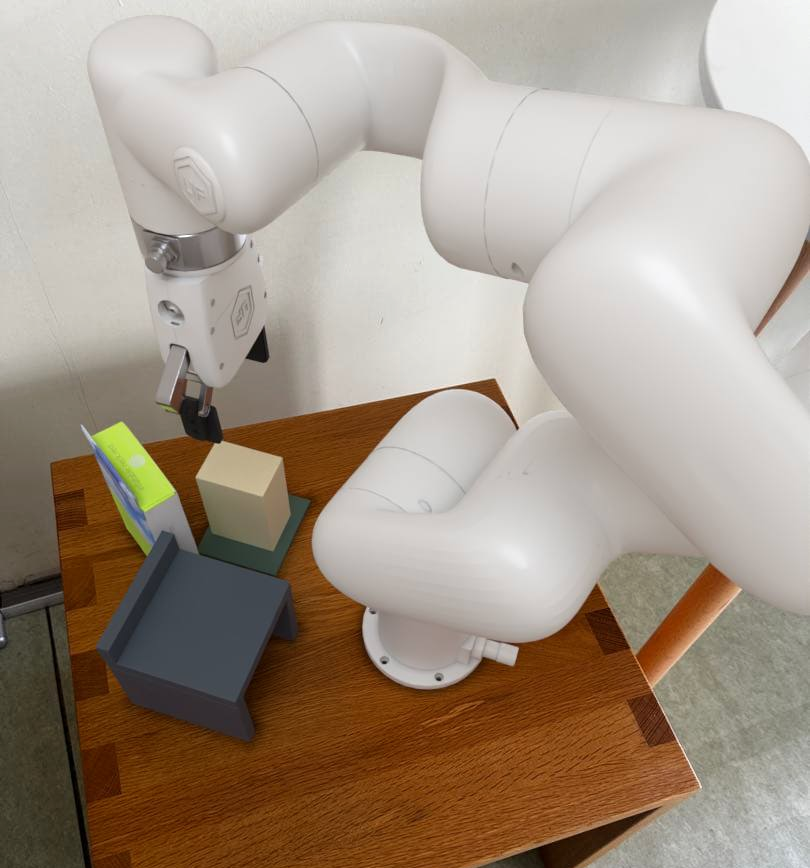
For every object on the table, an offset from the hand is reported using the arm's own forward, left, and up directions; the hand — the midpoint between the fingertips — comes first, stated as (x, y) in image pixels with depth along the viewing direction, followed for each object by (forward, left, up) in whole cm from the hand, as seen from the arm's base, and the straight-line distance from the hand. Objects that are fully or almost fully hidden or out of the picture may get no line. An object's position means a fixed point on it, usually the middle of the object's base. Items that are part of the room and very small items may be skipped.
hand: (229, 396), depth 72 cm
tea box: (+1, 0, -21) cm, 21 cm away
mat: (0, 0, -21) cm, 21 cm away
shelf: (-3, +16, -21) cm, 26 cm away
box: (+8, +6, -21) cm, 23 cm away
